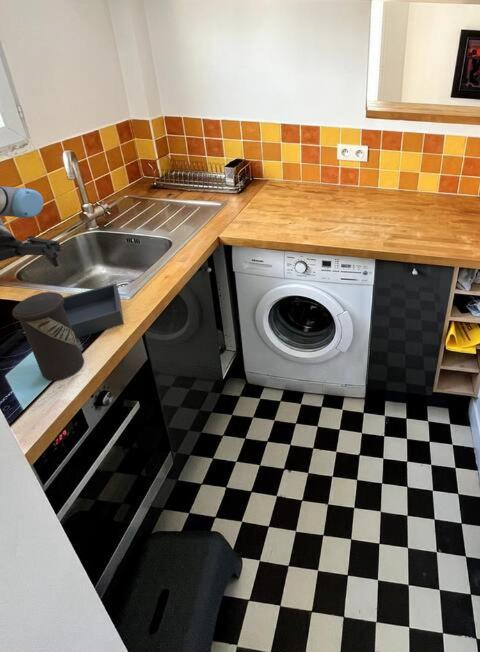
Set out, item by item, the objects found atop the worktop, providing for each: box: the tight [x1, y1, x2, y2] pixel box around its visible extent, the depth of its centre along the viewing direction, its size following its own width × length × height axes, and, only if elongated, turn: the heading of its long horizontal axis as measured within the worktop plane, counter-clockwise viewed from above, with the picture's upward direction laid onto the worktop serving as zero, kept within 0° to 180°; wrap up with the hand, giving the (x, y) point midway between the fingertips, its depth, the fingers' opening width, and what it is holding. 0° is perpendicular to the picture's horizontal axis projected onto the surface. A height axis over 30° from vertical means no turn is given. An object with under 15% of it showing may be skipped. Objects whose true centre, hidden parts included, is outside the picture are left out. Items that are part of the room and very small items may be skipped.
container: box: [11, 291, 85, 382], centre depth 89 cm, size 9×9×20 cm
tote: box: [63, 283, 125, 340], centre depth 108 cm, size 15×15×4 cm
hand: (20, 274), depth 89 cm, fingers open, 13 cm apart
